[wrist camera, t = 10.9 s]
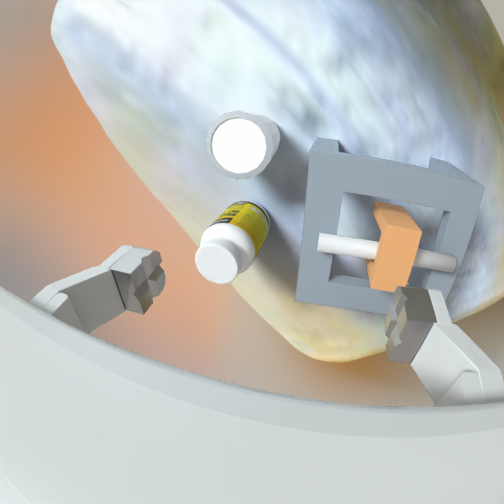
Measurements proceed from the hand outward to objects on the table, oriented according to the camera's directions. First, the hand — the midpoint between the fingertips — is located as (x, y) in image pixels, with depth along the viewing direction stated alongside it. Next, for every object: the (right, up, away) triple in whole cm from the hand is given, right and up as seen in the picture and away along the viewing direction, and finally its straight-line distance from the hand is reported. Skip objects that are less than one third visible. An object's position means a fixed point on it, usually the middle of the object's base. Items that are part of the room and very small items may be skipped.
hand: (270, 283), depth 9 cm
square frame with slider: (+14, +6, +22) cm, 27 cm away
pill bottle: (-1, +5, +28) cm, 29 cm away
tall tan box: (+13, +3, +18) cm, 22 cm away
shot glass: (0, +15, +22) cm, 27 cm away
